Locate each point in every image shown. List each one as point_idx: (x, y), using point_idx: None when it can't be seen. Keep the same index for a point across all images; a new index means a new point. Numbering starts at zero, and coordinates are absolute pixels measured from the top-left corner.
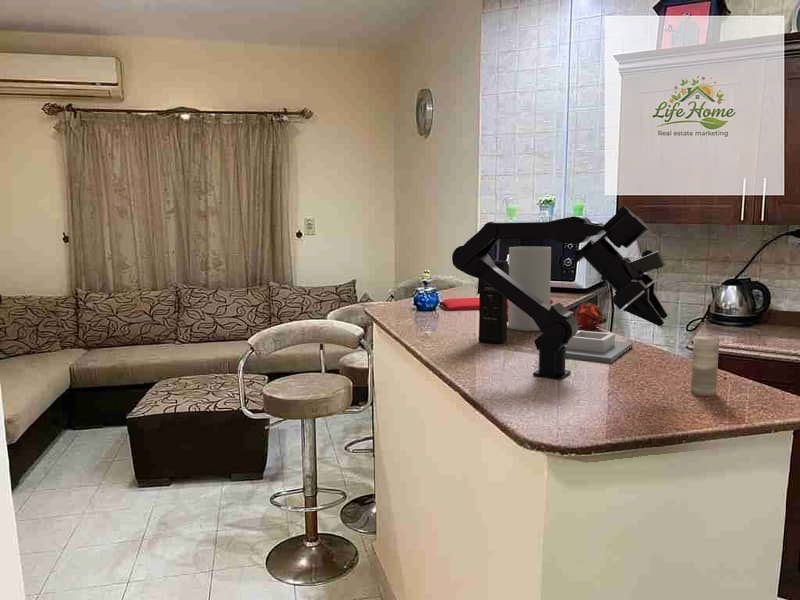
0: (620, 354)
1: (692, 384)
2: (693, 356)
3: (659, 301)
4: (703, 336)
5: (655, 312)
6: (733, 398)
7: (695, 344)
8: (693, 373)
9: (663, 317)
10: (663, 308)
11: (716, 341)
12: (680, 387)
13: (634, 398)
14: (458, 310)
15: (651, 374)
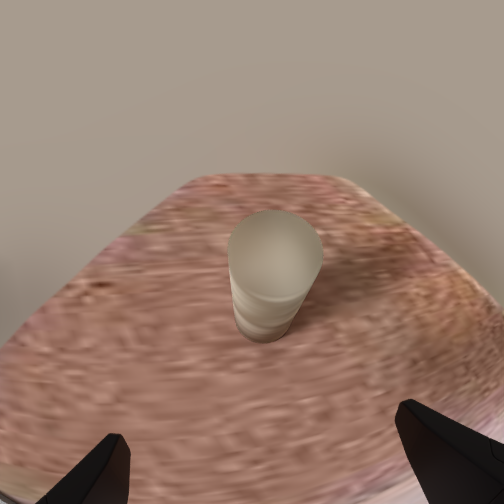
0: (10, 502)
1: (281, 333)
2: (288, 313)
3: (49, 495)
4: (243, 263)
5: (472, 432)
6: None
7: (304, 292)
8: (287, 324)
9: (126, 454)
10: (89, 463)
11: (297, 218)
12: (234, 372)
13: (390, 434)
14: None
15: (135, 451)
